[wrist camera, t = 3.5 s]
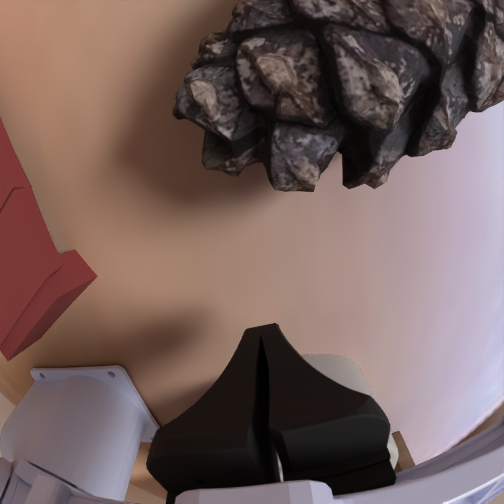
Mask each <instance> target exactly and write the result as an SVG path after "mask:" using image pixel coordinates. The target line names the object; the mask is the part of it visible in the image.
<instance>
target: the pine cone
mask: <svg viewBox="0 0 504 504" xmlns="http://www.w3.org/2000/svg"><path fill="white" fill-rule="evenodd" d="M232 16H233V19H232V20H231V22H230V23H229V25H228V27H227V29H226V30H225V31H223V32H221V33H210V34H209V35H208V36H206V37H205V38H204V39H203V40H202V41H200V46H199V53H198V55H197V56H196V57H195V58H194V60H193V61H192V62H191V65H192V68H193V70H194V71H192V72H189V73H188V74H187V75H186V77H185V80H184V83H183V86H182V87H181V88H180V89H179V91H178V92H177V93H176V95H175V98H176V105H175V106H174V108H173V116H174V117H175V118H176V119H177V120H180V119H183V118H184V119H189V120H190V121H192V122H193V123H195V124H197V125H198V126H200V127H201V128H203V129H205V136H204V144H203V151H202V164H203V166H204V167H205V169H206V170H218V171H222V172H225V173H227V174H229V175H231V176H234V177H238V176H239V174H240V173H241V172H242V170H243V169H244V168H245V167H246V166H249V165H251V164H254V163H256V162H261V163H263V164H264V166H265V168H266V171H267V175H268V179H269V181H270V183H271V185H272V186H273V188H274V190H280V191H285V192H287V191H305V192H314V188H315V185H316V183H317V181H318V180H319V178H320V174H321V173H322V172H323V171H324V170H325V169H326V168H327V167H328V165H329V163H330V161H331V159H332V158H333V156H334V154H335V153H336V152H337V151H338V152H339V153H340V154H342V169H343V185H344V186H345V187H347V188H348V189H351V188H354V187H357V186H360V185H362V184H366V185H368V186H370V187H372V188H373V189H376V188H377V187H379V186H381V185H382V184H384V183H385V182H386V181H387V178H388V175H389V171H390V170H391V168H392V167H393V166H394V165H395V164H396V163H397V162H398V160H399V159H400V158H401V157H402V156H405V155H408V156H410V157H417V156H424V155H426V154H428V153H430V152H432V151H433V150H442V149H448V148H451V146H452V144H453V142H454V140H455V138H456V134H457V131H456V130H455V127H456V126H457V125H458V124H459V123H460V121H461V120H462V119H463V118H465V116H466V114H467V113H468V112H469V111H472V112H483V111H484V110H486V109H487V108H489V107H491V106H494V105H496V104H498V103H500V102H502V101H503V100H504V0H239V1H238V2H237V3H236V4H235V5H234V6H233V12H232Z"/></svg>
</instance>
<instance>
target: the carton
mask: <svg viewBox="0 0 504 504" xmlns="http://www.w3.org/2000/svg"><path fill="white" fill-rule="evenodd" d="M31 187H32V186H31V184H30V182H29V180H28V179H27V177H26V175H25V172H24V170H23V168H22V166H21V164H20V162H19V160H18V158H17V156H16V153H15V151H14V149H13V147H12V144H11V142H10V140H9V137H8V135H7V133H6V130H5V128H4V125H3V123H2V120H1V118H0V350H1V352H2V353H3V355H4V356H5V358H6V359H7V361H9V360H11V359H12V358H13V357H15V356H16V355H18V354H19V353H20V352H22V351H23V350H25V349H26V348H27V347H29V346H30V345H32V344H33V343H35V342H36V341H37V340H39V339H40V338H41V337H42V336H43V335H44V334H45V332H46V331H47V330H48V329H49V328H50V327H51V326H52V324H53V323H54V322H55V321H56V320H57V319H58V318H59V317H60V316H61V314H62V313H63V312H64V311H65V310H66V309H67V308H68V307H69V306H70V305H71V304H72V302H73V301H74V300H75V299H76V298H77V297H78V296H79V295H80V294H81V293H82V292H83V291H84V290H85V289H86V288H87V287H88V286H89V285H90V284H91V282H92V281H93V280H94V279H95V278H96V277H97V275H96V274H95V273H94V272H93V271H92V269H91V268H90V267H89V266H88V265H87V263H86V262H85V261H84V260H83V259H82V257H81V256H80V255H79V254H78V252H77V251H76V250H72V251H69V252H66V253H63V254H60V255H59V254H58V252H57V250H56V248H55V246H54V243H53V241H52V239H51V237H50V234H49V232H48V230H47V227H46V225H45V222H44V220H43V217H42V215H41V212H40V210H39V207H38V204H37V202H36V199H35V196H34V194H33V191H32V188H31Z"/></svg>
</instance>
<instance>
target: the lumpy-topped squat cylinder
mask: <svg viewBox="0 0 504 504" xmlns="http://www.w3.org/2000/svg"><path fill="white" fill-rule="evenodd" d="M301 356H302V357H303V358H304V359H305V360H306V361H307V362H308V363H309V364H310V365H312V366H313V367H314V368H315V369H317V370H318V371H319V372H321V373H322V374H324V375H325V376H327V377H329V378H330V379H332V380H334V381H336V382H337V383H339V384H341V385H343V386H345V387H347V388H350V389H352V390H355V391H358V392H361V393H364V394H367V395H370V396H372V398H373V399H374V400H375V401H376V399H375V397H374V394H373V392H372V390H371V388H370V386H369V384H368V382H367V380H366V378H365V376H364V374H363V372H362V370H361V368H360V367H359V365H358V364H357V363H355V362H354V361H352V360H351V359H349V358H346V357H343V356H338V355H328V354H309V355H301ZM376 402H377V401H376ZM387 448H388V450H389V453H390V456H391V458H390V462H391V464H392V467H393V469H394V468H395V466H396V463H397V460H398V455H399V454H398V448H397V446H396V444H395V441H394V439H393V437H392V434H391V432H390V435H389V440H388V445H387ZM277 457H278V454H277ZM278 464H279V472H280V478H281V482H283V474H282V466H281V463H280V460H279V457H278Z"/></svg>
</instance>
